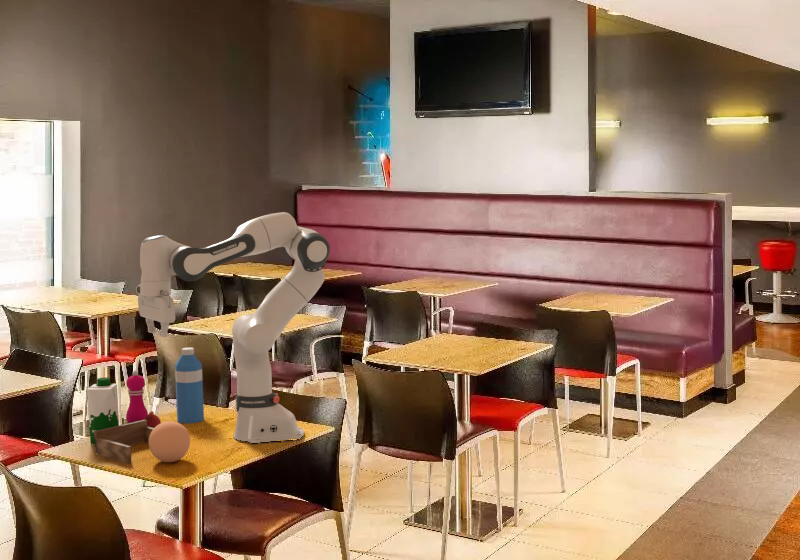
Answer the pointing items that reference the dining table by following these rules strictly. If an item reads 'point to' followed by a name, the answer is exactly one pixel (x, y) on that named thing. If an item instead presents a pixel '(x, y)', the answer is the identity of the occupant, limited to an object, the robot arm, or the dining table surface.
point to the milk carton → (102, 406)
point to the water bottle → (189, 388)
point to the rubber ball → (169, 441)
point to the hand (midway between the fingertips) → (157, 334)
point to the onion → (152, 420)
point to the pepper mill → (136, 398)
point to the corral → (121, 440)
